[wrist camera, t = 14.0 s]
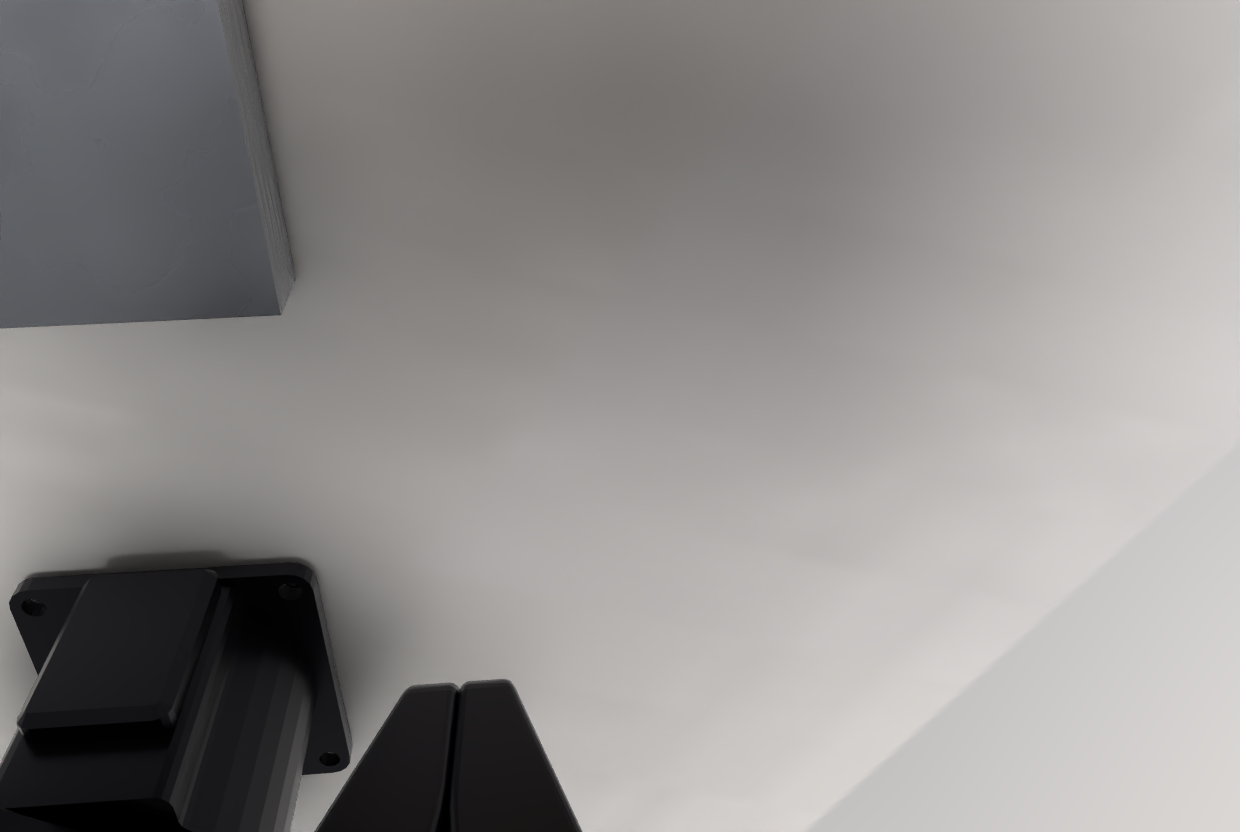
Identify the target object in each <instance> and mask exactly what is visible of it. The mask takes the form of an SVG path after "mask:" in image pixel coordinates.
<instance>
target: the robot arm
mask: <svg viewBox="0 0 1240 832" xmlns="http://www.w3.org/2000/svg"><path fill="white" fill-rule="evenodd" d="M286 583H292V584H296V585H298V586H299V587H300V588H296V589H295V588H289V587H287V586H285V585H284V584H286ZM31 599H36V600H39V601H41V602H42V603H43V604H39V603H36V602H34V601H32V600H31ZM9 605H10V610H11V612H12V615H13V617H14V619H15V622H16V624H17V627H18V629H19V631H20V634H21V636H22V638H23V641H24V643H25V645H26V648H27V650H28V652H29V655H30V657H31V660H32V662H33V664H34V667H35V669H36V671H37V674H38V677H37V679H36V681H35V684H34V686H33V688H32V690H31V692H30V694H29V696H28V698H27V700H26V702H25V704H24V706H23V708H22V710H21V712H20V714H19V716H18V718H17V726H18V728H17V731H16V733H15V735H14V737H13V739H12V741H11V743H10V745H9V747H8V749H7V751H6V753H5V755H4V757H3V759H2V761H1V763H0V832H290V829H291V824H292V819H293V814H294V809H295V805H296V800H297V795H298V790H299V785H300V780H301V775H307V774H321V773H333V772H338V771H341V770H343V769H345V768H346V767H347V766H348V765H349V763H350V758H351V752H352V742H351V737H350V733H349V728H348V723H347V719H346V714H345V710H344V705H343V700H342V696H341V691H340V686H339V682H338V677H337V672H336V668H335V663H334V658H333V654H332V649H331V645H330V640H329V635H328V631H327V626H326V621H325V617H324V612H323V607H322V603H321V598H320V593H319V589H318V584H317V580H316V577H315V575H314V573H313V572H312V571H311V570H310V569H309V568H308V567H306V566H304V565H301V564H299V563H276V564H259V565H243V566H226V567H209V568H193V569H176V570H159V571H143V572H126V573H109V574H93V575H76V576H59V577H43V578H32V579H27V580H24V581H23V582H21V583H20V584H19V585H18V587H17V589H16V590H15V592H14V594H13V596H12V598H11V600H10V602H9ZM327 752H331V753H327ZM315 832H582V830H581V828H580V826H579V823H578V821H577V819H576V817H575V815H574V813H573V811H572V809H571V806H570V804H569V802H568V800H567V798H566V796H565V794H564V791H563V789H562V787H561V785H560V783H559V781H558V779H557V776H556V774H555V772H554V770H553V768H552V766H551V764H550V761H549V759H548V757H547V755H546V753H545V751H544V749H543V747H542V744H541V742H540V740H539V738H538V736H537V734H536V732H535V729H534V727H533V725H532V723H531V721H530V719H529V717H528V714H527V712H526V710H525V708H524V706H523V704H522V702H521V700H520V697H519V695H518V693H517V691H516V689H515V687H514V685H513V684H512V683H511V682H510V681H509V680H507V679H496V680H482V681H469V682H466V683H464V684H463V685H462V687H461V689H459V687H458V686H457V685H455V684H453V683H439V684H425V685H414V686H411V687H409V688H408V689H407V690H406V691H405V692H404V693H403V694H402V696H401V697H400V699H399V700H398V702H397V704H396V705H395V707H394V708H393V710H392V711H391V713H390V714H389V716H388V718H387V719H386V721H385V722H384V724H383V725H382V727H381V729H380V730H379V732H378V733H377V735H376V736H375V738H374V740H373V741H372V743H371V744H370V746H369V747H368V749H367V750H366V752H365V754H364V755H363V757H362V758H361V760H360V761H359V763H358V765H357V766H356V768H355V769H354V771H353V772H352V774H351V776H350V777H349V779H348V780H347V782H346V783H345V785H344V786H343V788H342V790H341V791H340V793H339V794H338V796H337V797H336V799H335V801H334V802H333V804H332V805H331V807H330V808H329V810H328V812H327V813H326V815H325V816H324V818H323V819H322V821H321V822H320V824H319V826H318V827H317V829H316V830H315Z"/></svg>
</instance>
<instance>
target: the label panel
mask: <svg viewBox="0 0 1240 832" xmlns="http://www.w3.org/2000/svg"><path fill="white" fill-rule="evenodd" d="M294 281H295V274H294V269H293V263H292V258H291V253H290V248H289V242H288V237H287V232H286V227H285V222H284V216H283V211H282V206H281V201H280V195H279V190H278V185H277V180H276V175H275V169H274V164H273V159H272V154H271V148H270V143H269V138H268V133H267V128H266V122H265V117H264V112H263V107H262V101H261V96H260V91H259V86H258V81H257V75H256V70H255V65H254V60H253V54H252V49H251V44H250V39H249V34H248V28H247V23H246V18H245V13H244V7H243V2H242V0H0V328H18V327H39V326H60V325H81V324H103V323H124V322H145V321H167V320H188V319H209V318H230V317H252V316H273V315H281V314H282V311H283V309H284V306H285V304H286V301H287V299H288V296H289V294H290V291H291V289H292V286H293V283H294Z"/></svg>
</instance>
